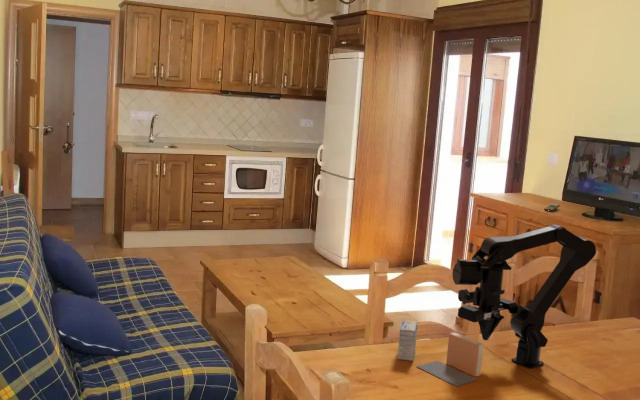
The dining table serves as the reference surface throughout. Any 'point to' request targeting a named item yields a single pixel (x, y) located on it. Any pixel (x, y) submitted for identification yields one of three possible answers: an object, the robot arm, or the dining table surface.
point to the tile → (465, 354)
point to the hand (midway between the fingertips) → (485, 339)
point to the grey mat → (447, 373)
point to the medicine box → (407, 340)
